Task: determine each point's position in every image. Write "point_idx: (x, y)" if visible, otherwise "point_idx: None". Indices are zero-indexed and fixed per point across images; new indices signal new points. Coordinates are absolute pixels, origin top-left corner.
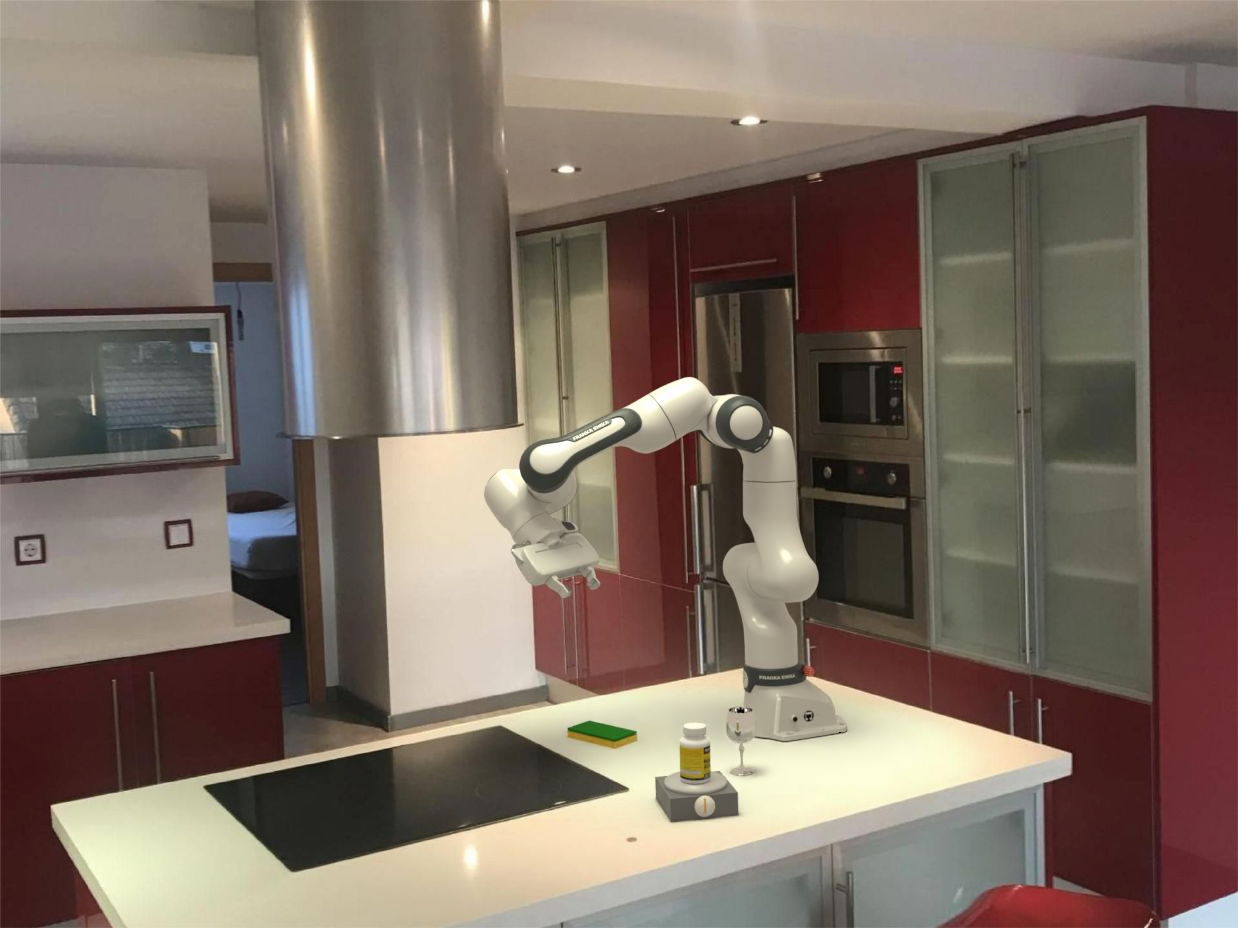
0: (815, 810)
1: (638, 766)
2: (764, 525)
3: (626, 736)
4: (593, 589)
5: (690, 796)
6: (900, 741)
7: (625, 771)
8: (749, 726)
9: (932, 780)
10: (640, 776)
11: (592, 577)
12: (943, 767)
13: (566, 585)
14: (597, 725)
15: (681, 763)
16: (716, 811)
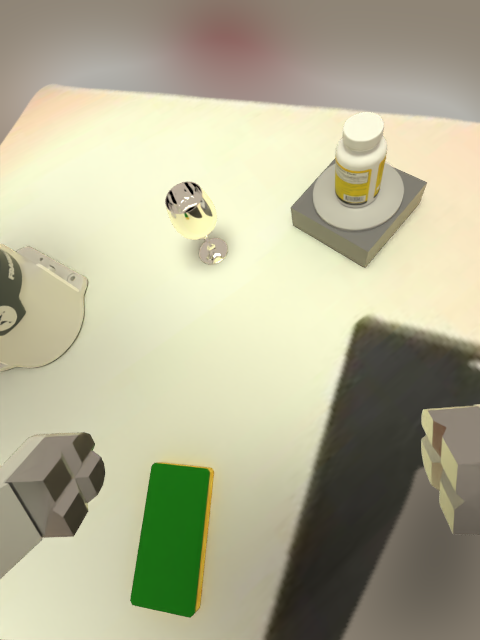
0: (281, 128)
1: (268, 374)
2: None
3: (180, 465)
4: (98, 464)
5: (399, 172)
6: (45, 191)
7: (299, 375)
8: (200, 193)
9: (147, 112)
10: (304, 342)
11: (1, 503)
12: (108, 125)
13: (469, 464)
14: (154, 559)
15: (381, 177)
16: None
